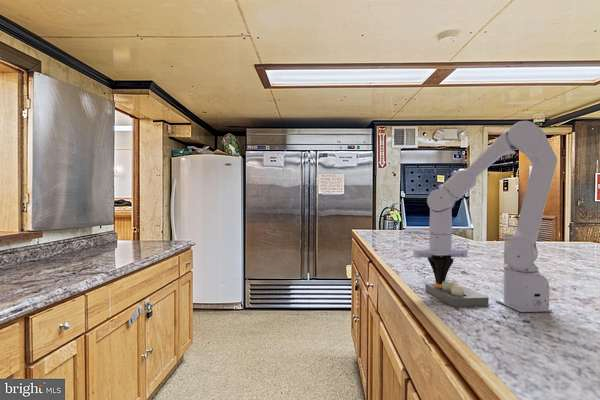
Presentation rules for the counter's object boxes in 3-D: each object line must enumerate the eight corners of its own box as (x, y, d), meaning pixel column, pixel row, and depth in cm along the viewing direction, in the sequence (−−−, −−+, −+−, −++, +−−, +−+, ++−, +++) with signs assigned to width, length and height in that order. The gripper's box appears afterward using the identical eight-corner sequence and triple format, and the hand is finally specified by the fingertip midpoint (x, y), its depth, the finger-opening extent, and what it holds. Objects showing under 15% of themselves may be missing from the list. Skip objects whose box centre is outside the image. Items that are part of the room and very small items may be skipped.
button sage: (456, 292, 96) (456, 283, 96) (445, 292, 96) (445, 283, 96) (450, 289, 99) (450, 280, 99) (440, 290, 99) (440, 281, 99)
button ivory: (466, 297, 92) (466, 287, 92) (454, 297, 91) (454, 287, 91) (459, 294, 95) (459, 284, 95) (448, 294, 94) (448, 285, 94)
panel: (488, 305, 90) (488, 297, 90) (453, 306, 89) (453, 298, 89) (455, 290, 105) (455, 283, 105) (425, 291, 104) (425, 283, 104)
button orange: (447, 293, 101) (447, 284, 101) (437, 293, 100) (437, 284, 100) (442, 290, 104) (442, 282, 104) (432, 290, 103) (432, 282, 103)
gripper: (457, 232, 107) (457, 279, 107) (409, 232, 105) (408, 280, 105) (471, 235, 100) (471, 285, 100) (419, 235, 98) (419, 286, 98)
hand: (439, 283), depth 102 cm, fingers closed, pressing on button orange
